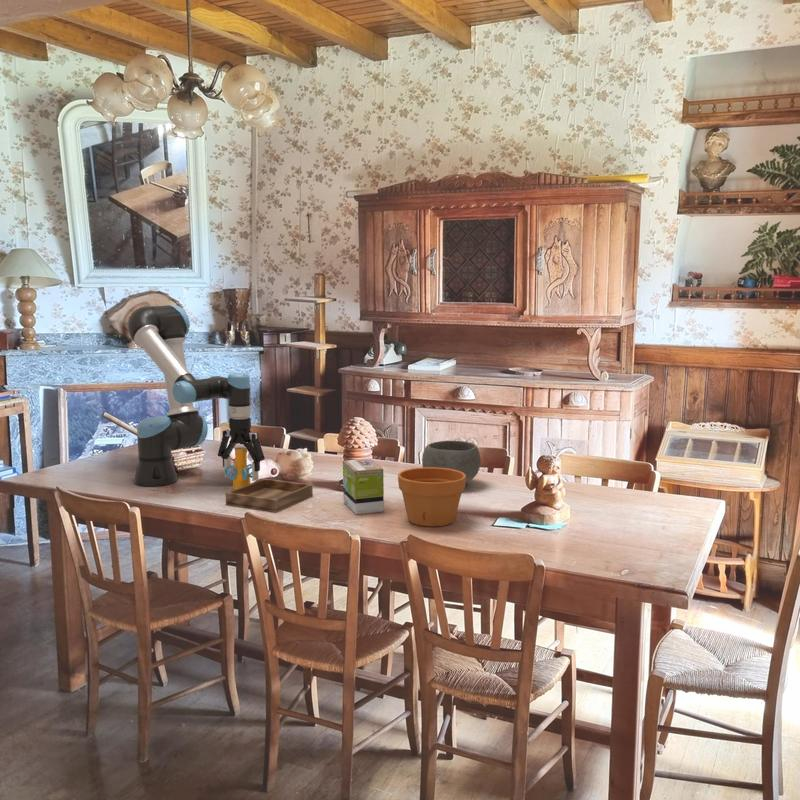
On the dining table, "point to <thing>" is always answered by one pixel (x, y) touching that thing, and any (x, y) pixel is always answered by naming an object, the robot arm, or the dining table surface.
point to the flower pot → (431, 494)
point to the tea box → (363, 486)
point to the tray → (269, 495)
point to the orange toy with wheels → (240, 469)
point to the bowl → (453, 457)
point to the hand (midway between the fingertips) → (241, 478)
